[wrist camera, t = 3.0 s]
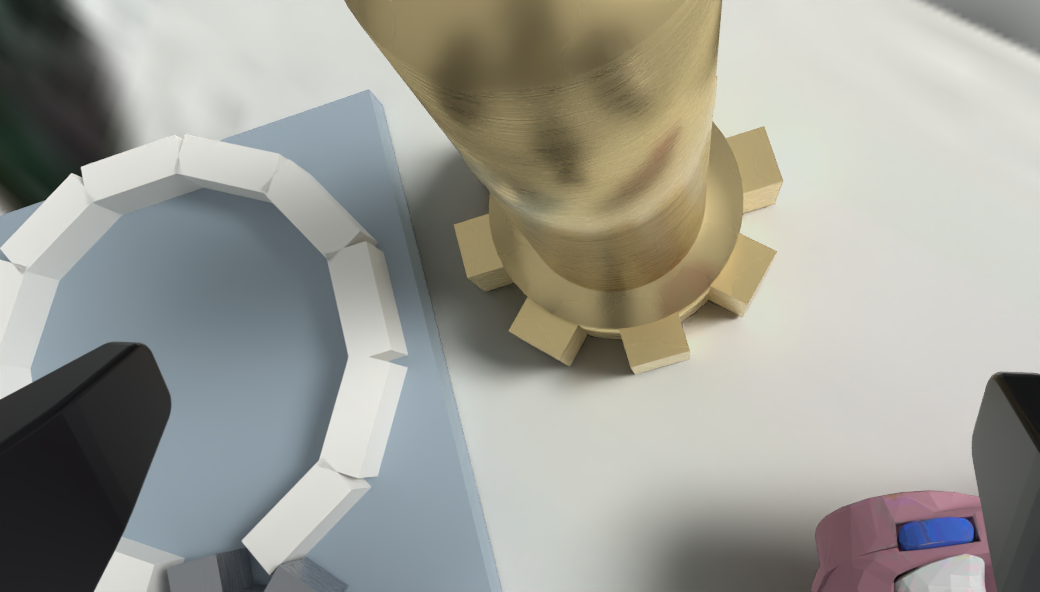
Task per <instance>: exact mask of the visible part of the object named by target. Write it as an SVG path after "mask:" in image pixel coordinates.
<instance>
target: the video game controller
mask: <svg viewBox="0 0 1040 592" xmlns="http://www.w3.org/2000/svg"><path fill="white" fill-rule="evenodd" d="M815 538H816V544H817V551H818V557H819V563H820V566H819V568H818V570H817V573H816V575H815V578H814V580H813V583H812V588H811V592H997V590H996V585H995V580H994V575H993V569H992V564H991V558H990V553H989V547H988V542H987V536H986V530H985V525H984V519H983V514H982V508H981V503H980V497H976V496H972V495H966V494H961V493H956V492H943V491H914V492H900V493H894V494H889V495H883V496H878V497H873V498H868V499H865V500H862V501H859V502H856V503H853V504H850V505H847V506H844V507H841V508H839V509H837V510H836V511H834V512H832V513H830V514H829V515H827V516H826V517H825V518H824V519H823V520H822V521H821V522H820V523H819V525H818V526H817V528H816V532H815Z"/></svg>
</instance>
